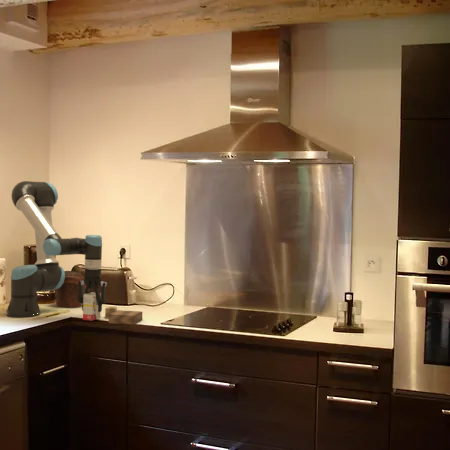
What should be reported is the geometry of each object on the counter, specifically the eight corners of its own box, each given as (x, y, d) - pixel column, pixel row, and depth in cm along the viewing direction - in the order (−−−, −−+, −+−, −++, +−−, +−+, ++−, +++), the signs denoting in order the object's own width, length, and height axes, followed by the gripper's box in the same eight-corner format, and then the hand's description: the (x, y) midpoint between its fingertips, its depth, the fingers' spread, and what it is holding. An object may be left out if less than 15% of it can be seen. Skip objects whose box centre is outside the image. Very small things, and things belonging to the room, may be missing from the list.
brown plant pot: (69, 309, 317) (70, 274, 316) (43, 306, 327) (43, 271, 327) (95, 306, 331) (96, 272, 331) (68, 302, 342) (69, 270, 342)
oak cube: (105, 318, 295) (105, 308, 295) (106, 317, 300) (106, 306, 300) (115, 318, 295) (116, 308, 295) (116, 317, 300) (117, 306, 300)
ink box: (91, 321, 286) (92, 295, 285) (82, 320, 287) (82, 294, 287) (100, 318, 294) (101, 292, 294) (91, 317, 295) (92, 292, 295)
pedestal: (108, 323, 284) (108, 314, 284) (117, 318, 295) (118, 310, 295) (134, 324, 281) (134, 315, 281) (142, 320, 293) (142, 311, 293)
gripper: (71, 268, 288) (69, 318, 289) (108, 270, 284) (107, 321, 285) (77, 266, 295) (76, 315, 296) (114, 268, 292) (113, 318, 293)
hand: (91, 318), depth 291 cm, fingers closed on ink box, 5 cm apart
